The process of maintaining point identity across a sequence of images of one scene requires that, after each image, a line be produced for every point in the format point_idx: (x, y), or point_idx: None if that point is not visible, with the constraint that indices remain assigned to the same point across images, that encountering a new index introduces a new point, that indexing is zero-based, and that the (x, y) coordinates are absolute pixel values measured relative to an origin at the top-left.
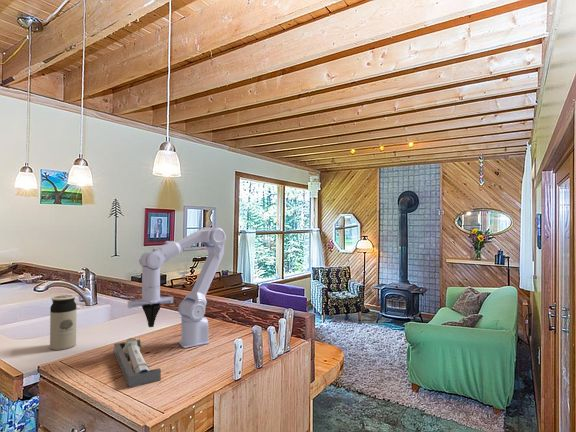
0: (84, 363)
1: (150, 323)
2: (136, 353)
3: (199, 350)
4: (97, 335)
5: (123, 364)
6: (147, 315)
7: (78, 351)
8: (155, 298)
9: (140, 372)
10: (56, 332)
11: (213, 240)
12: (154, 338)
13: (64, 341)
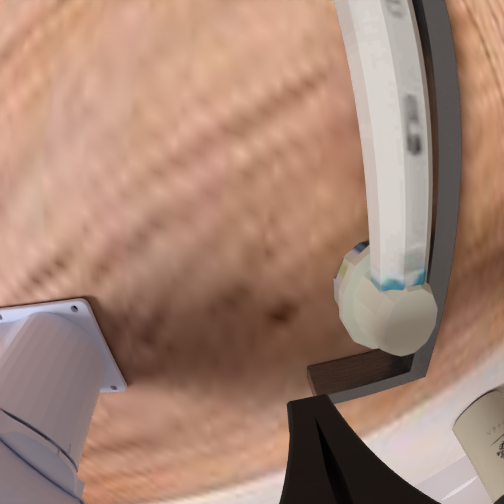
0: (500, 272)
1: (331, 420)
2: (411, 99)
3: (13, 238)
4: None
5: (453, 48)
6: (404, 483)
7: (472, 378)
8: None
9: None
10: None
11: None
12: (233, 445)
13: (496, 408)
